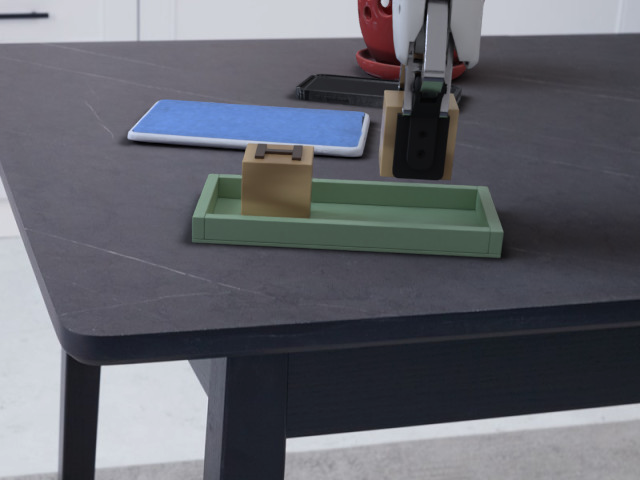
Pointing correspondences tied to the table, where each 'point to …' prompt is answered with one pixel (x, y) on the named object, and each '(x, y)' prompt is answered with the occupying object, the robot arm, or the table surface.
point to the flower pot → (384, 42)
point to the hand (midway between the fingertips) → (415, 163)
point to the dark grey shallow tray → (351, 90)
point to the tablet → (252, 127)
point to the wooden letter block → (388, 131)
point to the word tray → (359, 218)
